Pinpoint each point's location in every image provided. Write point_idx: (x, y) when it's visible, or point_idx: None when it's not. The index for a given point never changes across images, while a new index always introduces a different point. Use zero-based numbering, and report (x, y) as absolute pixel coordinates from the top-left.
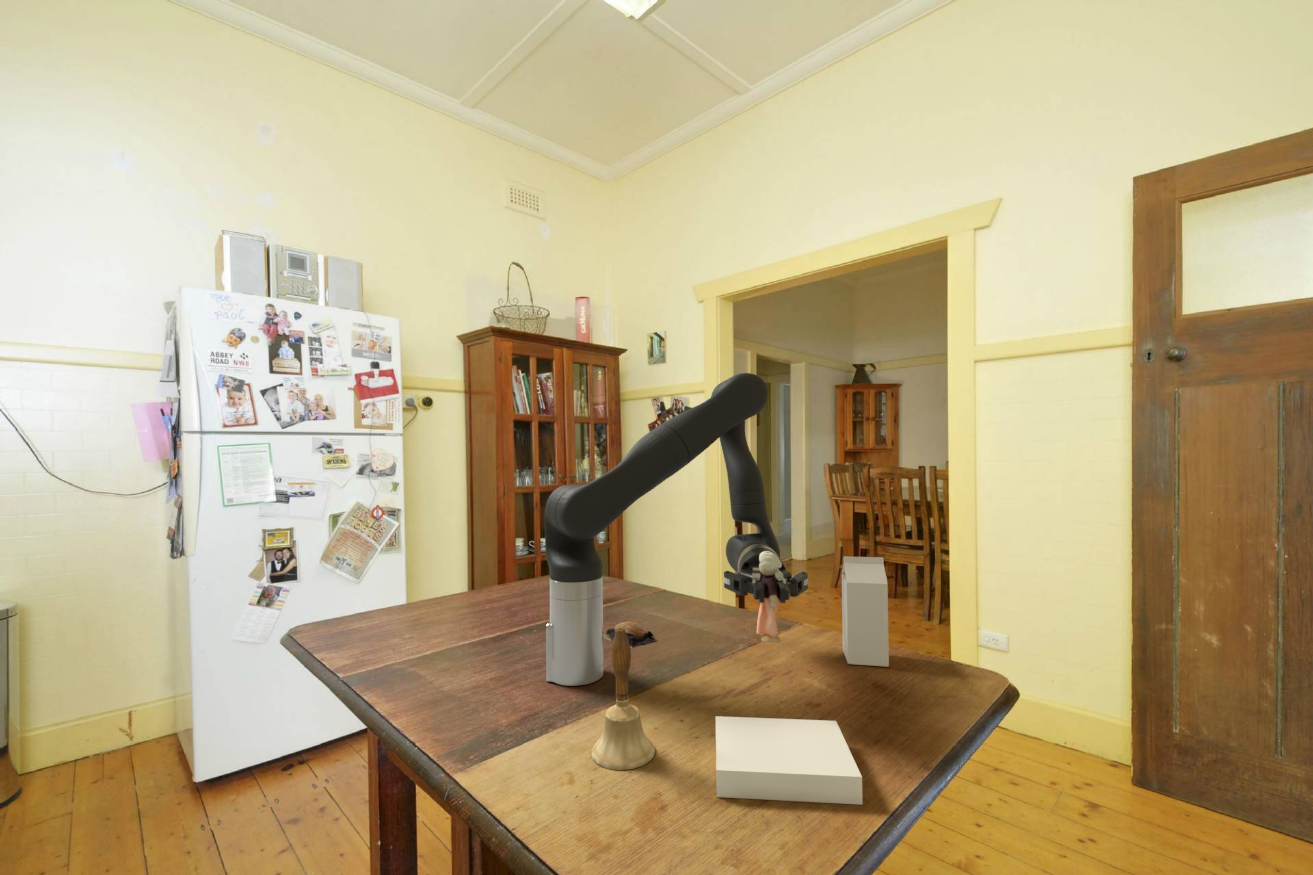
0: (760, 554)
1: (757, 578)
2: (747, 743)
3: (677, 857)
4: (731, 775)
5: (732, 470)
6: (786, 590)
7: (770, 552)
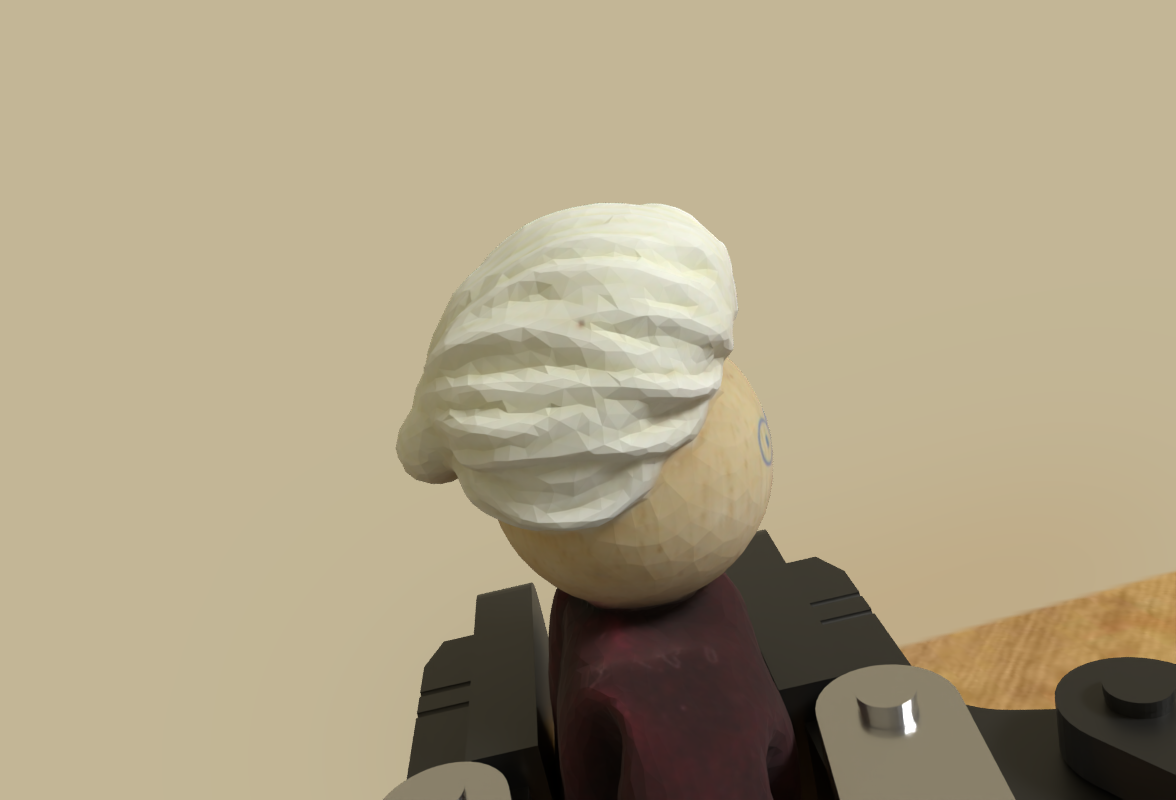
0: (702, 227)
1: (884, 774)
2: None
3: (937, 650)
4: None
5: None
6: (466, 643)
7: (533, 227)
